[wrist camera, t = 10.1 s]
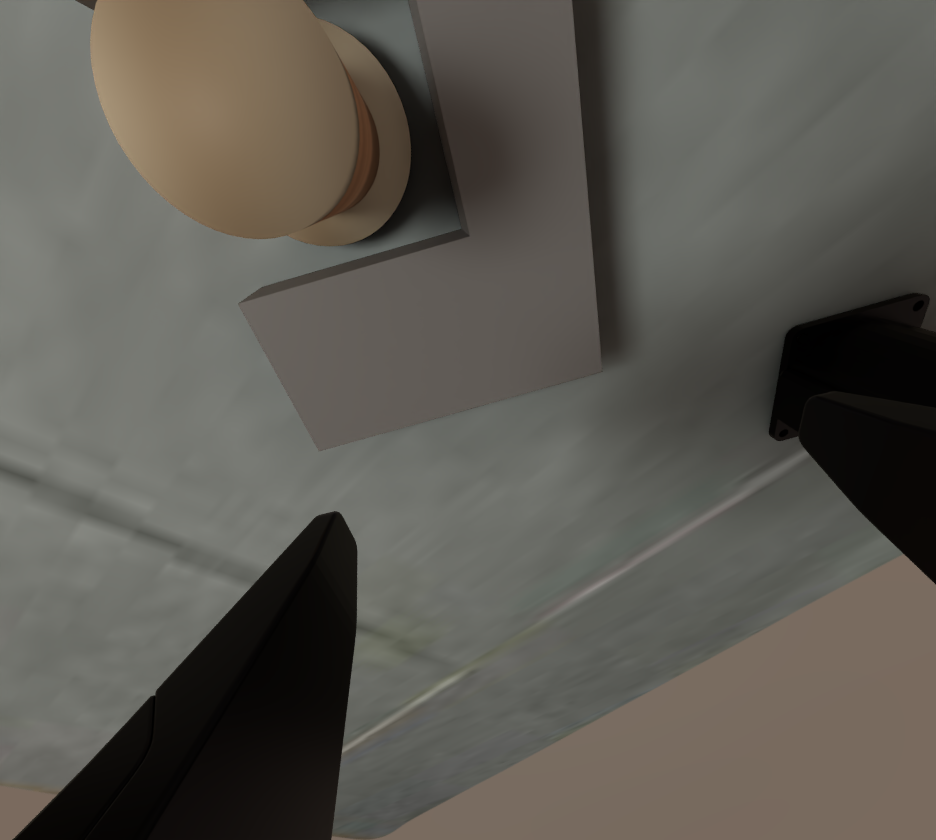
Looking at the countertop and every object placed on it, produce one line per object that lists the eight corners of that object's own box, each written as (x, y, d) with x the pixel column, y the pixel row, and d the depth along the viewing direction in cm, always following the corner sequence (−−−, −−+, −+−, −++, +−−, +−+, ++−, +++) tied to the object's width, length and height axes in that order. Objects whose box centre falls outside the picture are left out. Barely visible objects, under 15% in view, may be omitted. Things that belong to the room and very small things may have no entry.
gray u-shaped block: (481, -543, 8) (506, -795, 6) (580, 349, 19) (602, 371, 16) (-67, -360, 9) (-228, -542, 6) (329, 420, 19) (319, 451, 17)
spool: (374, -1, 12) (326, -240, 5) (432, 217, 15) (449, 246, 8) (183, 58, 12) (-108, -102, 5) (279, 261, 15) (172, 326, 8)
